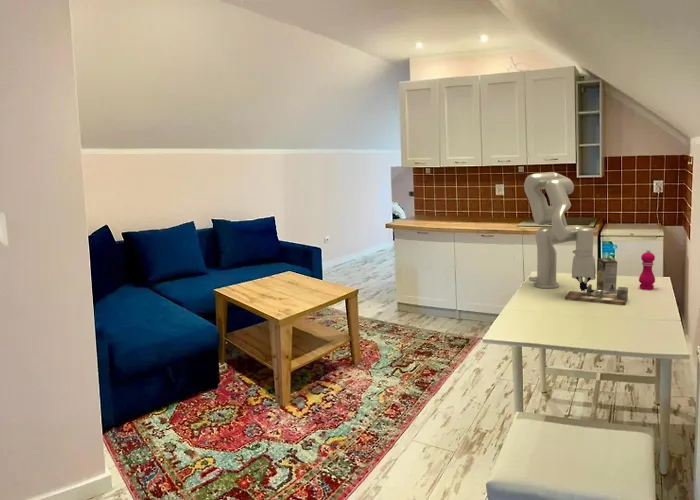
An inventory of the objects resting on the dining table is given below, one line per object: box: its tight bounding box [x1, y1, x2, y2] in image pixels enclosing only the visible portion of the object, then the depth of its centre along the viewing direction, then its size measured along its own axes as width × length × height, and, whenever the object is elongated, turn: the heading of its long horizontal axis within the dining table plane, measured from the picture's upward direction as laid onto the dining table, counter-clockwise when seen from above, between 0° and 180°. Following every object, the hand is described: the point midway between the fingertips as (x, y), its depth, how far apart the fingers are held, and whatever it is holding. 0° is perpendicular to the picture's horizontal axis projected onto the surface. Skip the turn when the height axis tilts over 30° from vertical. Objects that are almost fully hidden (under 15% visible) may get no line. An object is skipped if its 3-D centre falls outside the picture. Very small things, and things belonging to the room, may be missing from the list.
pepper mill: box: [638, 249, 656, 291], centre depth 273 cm, size 7×7×20 cm
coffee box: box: [596, 257, 618, 294], centre depth 273 cm, size 9×6×16 cm
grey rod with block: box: [586, 284, 610, 296], centre depth 261 cm, size 9×8×4 cm
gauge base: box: [564, 286, 629, 306], centre depth 261 cm, size 26×11×6 cm, turn 57°
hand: (583, 290), depth 265 cm, fingers closed
